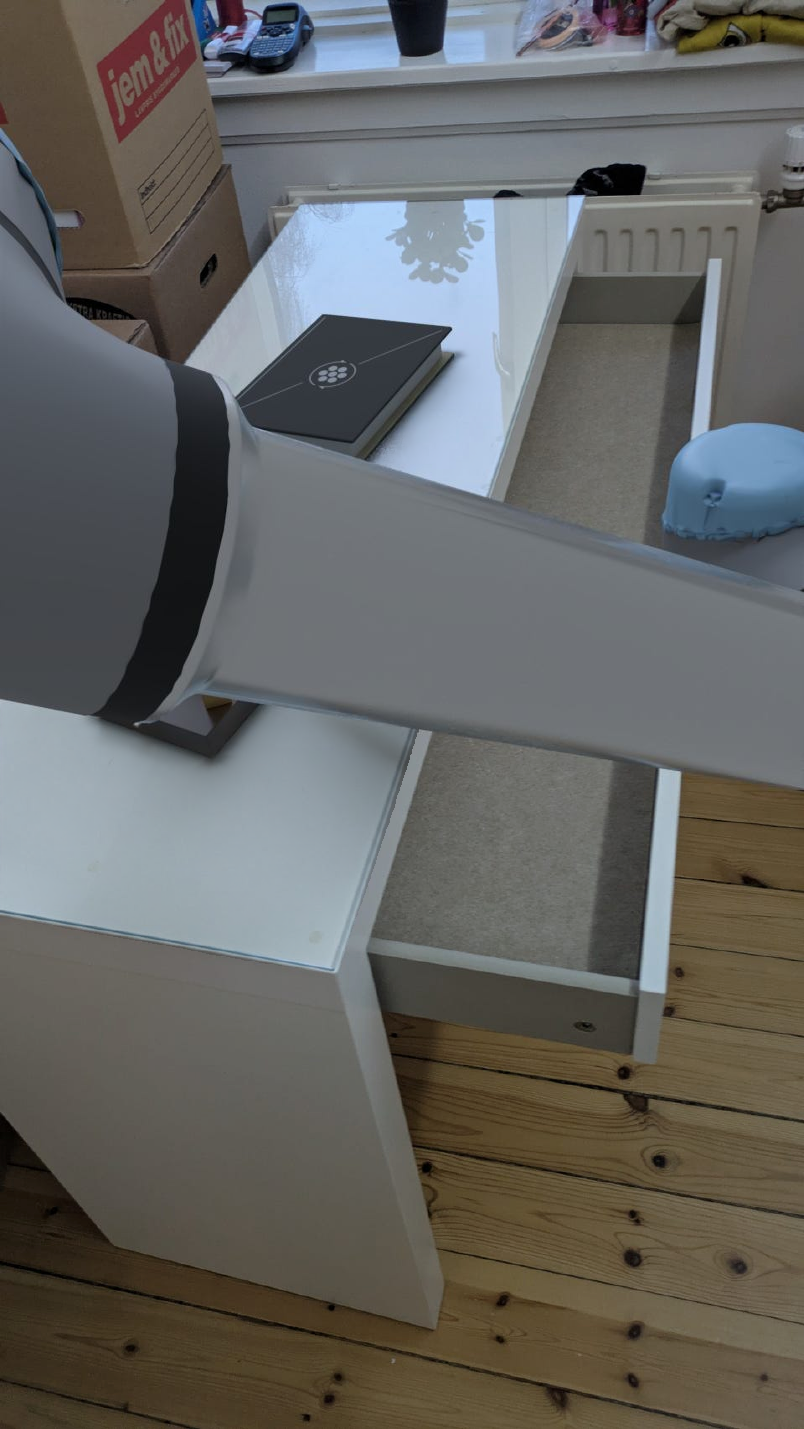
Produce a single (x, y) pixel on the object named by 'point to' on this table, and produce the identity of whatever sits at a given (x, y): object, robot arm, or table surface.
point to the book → (345, 382)
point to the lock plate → (197, 724)
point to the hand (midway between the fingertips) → (239, 570)
